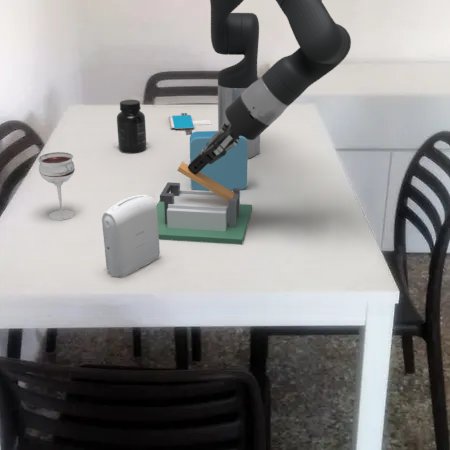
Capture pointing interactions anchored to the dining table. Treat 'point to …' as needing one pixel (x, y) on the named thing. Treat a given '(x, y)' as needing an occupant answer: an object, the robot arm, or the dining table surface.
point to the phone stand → (186, 122)
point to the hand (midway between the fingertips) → (191, 170)
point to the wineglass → (57, 176)
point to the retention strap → (208, 183)
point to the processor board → (204, 234)
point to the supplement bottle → (131, 127)
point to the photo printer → (130, 234)
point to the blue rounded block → (221, 162)
